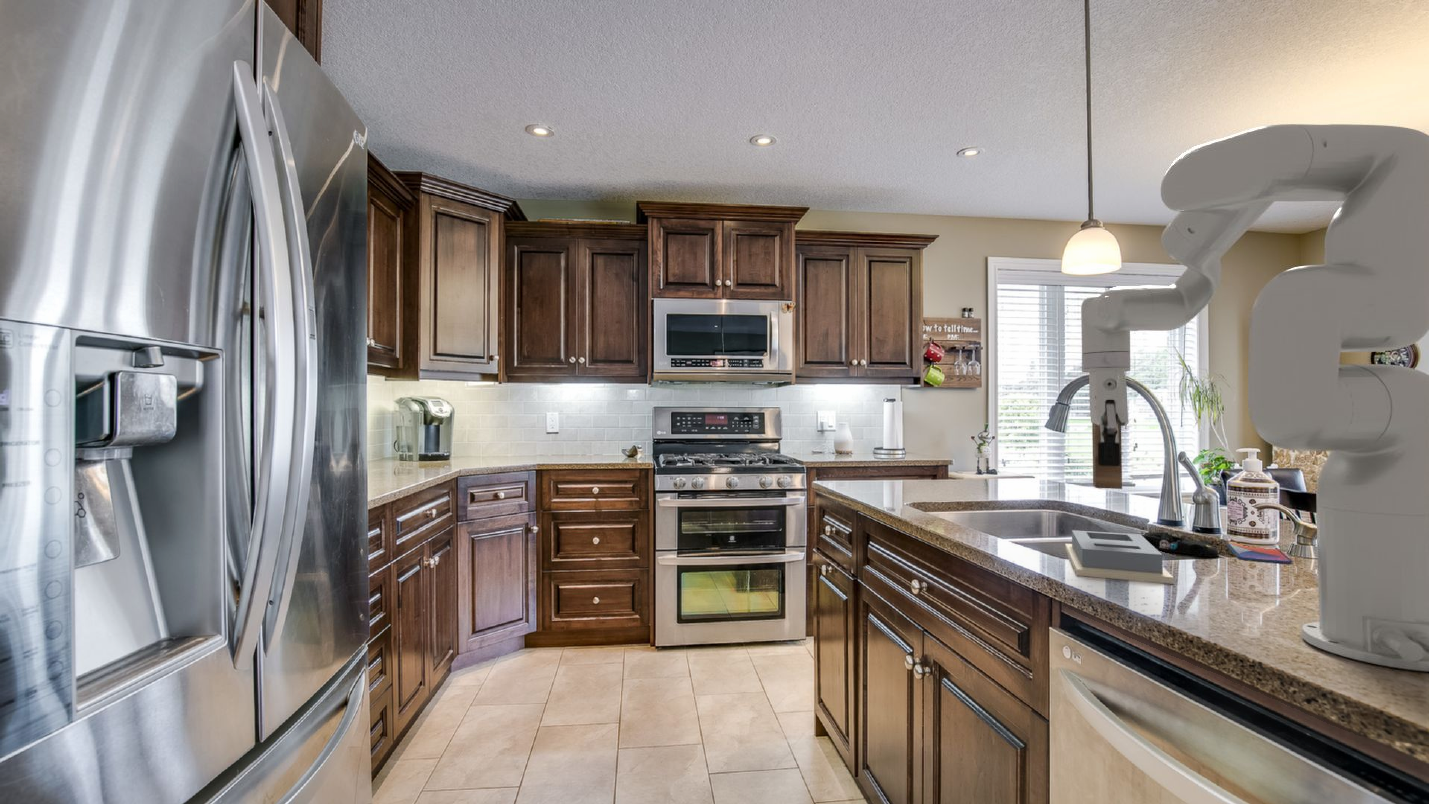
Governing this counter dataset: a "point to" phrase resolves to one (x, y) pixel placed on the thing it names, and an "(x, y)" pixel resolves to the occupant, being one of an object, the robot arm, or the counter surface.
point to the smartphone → (1258, 553)
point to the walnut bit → (1105, 474)
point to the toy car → (1181, 544)
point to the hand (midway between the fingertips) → (1107, 463)
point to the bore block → (1116, 557)
